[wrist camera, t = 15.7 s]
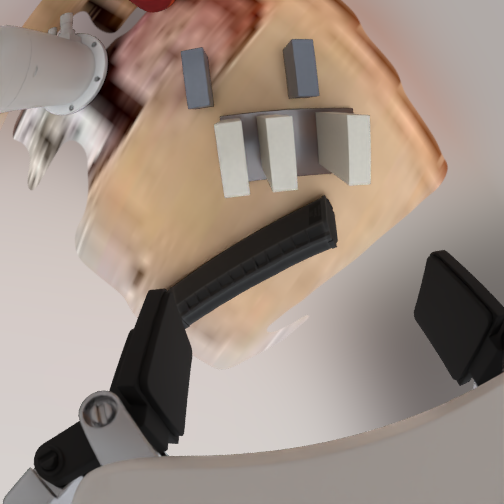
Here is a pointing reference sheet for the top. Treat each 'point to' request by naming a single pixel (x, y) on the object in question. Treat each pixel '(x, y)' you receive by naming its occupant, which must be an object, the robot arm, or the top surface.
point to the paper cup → (153, 4)
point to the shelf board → (302, 136)
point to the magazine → (256, 259)
